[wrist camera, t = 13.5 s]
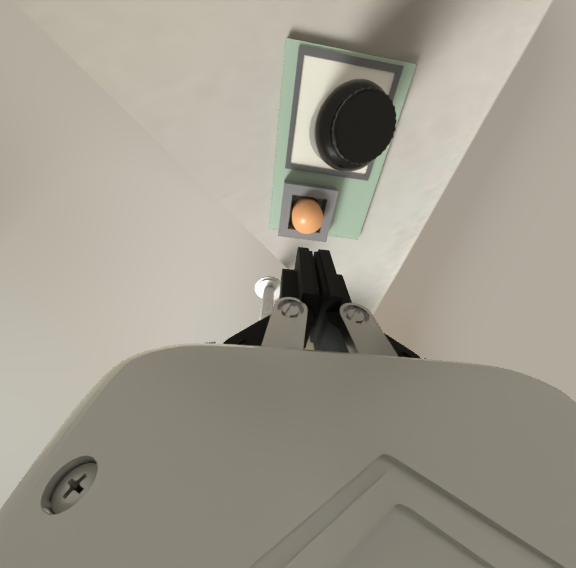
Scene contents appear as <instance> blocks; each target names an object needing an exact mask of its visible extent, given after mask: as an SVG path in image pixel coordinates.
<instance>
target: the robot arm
mask: <svg viewBox="0 0 576 568" xmlns="http://www.w3.org/2000/svg"><path fill="white" fill-rule="evenodd" d="M309 336H310V342H311V343H314V350H306V349H305V348H306V345H307V342H308V339H309ZM319 350H322V351H319ZM86 475H87V476H86ZM0 568H576V402H575V401H573V400H572V399H571V398H570V397H569V396H567V395H566V394H565V393H563V392H562V391H560V390H559V389H557V388H555V387H553V386H551V385H549V384H547V383H545V382H543V381H541V380H538V379H536V378H533V377H531V376H528V375H525V374H522V373H519V372H515V371H512V370H508V369H504V368H499V367H494V366H488V365H480V364H472V363H463V362H453V361H442V360H431V359H426V358H424V359H421V358H420V357H419V356H418V355H417V354H415V353H414V352H412V351H411V350H409V349H408V348H406V347H405V346H403V345H402V344H400V343H399V342H397V341H395V340H394V339H392V338H391V337H389V336H388V335H386V334H385V333H383V331H382V330H381V328H380V326H379V325H378V323H377V322H376V320H375V318H374V317H373V315H372V314H371V312H370V311H369V310H368V309H366V308H365V307H363V306H362V305H359V304H356V303H352V302H351V299H350V296H349V293H348V290H347V288H346V285H345V282H344V279H343V276H342V275H338V274H336V270H335V267H334V264H333V261H332V258H331V255H330V251H329V250H320V249H319V250H318V252H314V256H313V254H312V251H309V249H308V248H302V247H298V250H297V257H296V263H295V269H294V270H289V269H282V277H281V285H280V297H279V300H277V301H276V302H275V304H274V307H273V310H272V313H271V314H270V315H268V316H267V317H265V318H263V319H261V320H260V321H258V322H256V323H255V324H253V325H251V326H249V327H248V328H246V329H244V330H243V331H241V332H239V333H237V334H235V335H234V336H232V337H231V338H229V339H228V340H226V341H225V342H224V343H223V344H216V343H215V342H209V343H196V344H195V343H193V344H179V345H171V346H166V347H161V348H157V349H152V350H148V351H145V352H142V353H139V354H137V355H134V356H131V357H129V358H128V359H126V360H124V361H122V362H120V363H119V364H118V365H116V366H115V367H113V368H112V369H111V370H110V371H109V372H108V373H107V374H106V375H104V376H103V377H102V379H101V380H99V382H98V383H97V384H96V385H95V386H94V387H93V388H92V389H91V390H90V391H89V393H88V394H87V395H86V396H85V397H84V399H83V400H82V401H81V402H80V403H79V405H78V406H77V407H76V408H75V410H74V411H73V412H72V413H71V414H70V416H69V417H68V418H67V420H66V421H65V422H64V424H63V425H62V426H61V428H60V429H59V430H58V432H57V433H56V434H55V435H54V437H53V438H52V440H51V441H50V442H49V443H48V445H47V446H46V447H45V448H44V450H43V451H42V453H41V454H40V455H39V456H38V458H37V459H36V460H35V462H34V464H33V465H32V466H31V467H30V469H29V470H28V472H27V473H26V474H25V476H24V477H23V479H22V480H21V482H20V483H19V485H18V486H17V487H16V488H15V490H14V491H13V493H12V494H11V495H10V497H9V498H8V500H7V501H6V502H5V504H4V505H3V507H2V508H1V509H0Z"/></svg>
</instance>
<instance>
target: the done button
mask: <svg viewBox="0 0 576 568" xmlns="http://www.w3.org/2000/svg"><path fill="white" fill-rule="evenodd" d="M292 222H293V225H294V227H295V229H296V230H297V231H299V232H300V233H303V234H311V233H314V232H316V231H317V230H318V229H319V228H320V227H321V225H322V223H323V212H322V210H321V208H320V206H319V204H318V202H317V200H316V199H315V198H313V197H306V196H301V197H299V198H298V199H296V200H295V202H294V203H293V205H292Z"/></svg>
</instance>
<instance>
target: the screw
mask: <svg viewBox="0 0 576 568" xmlns="http://www.w3.org/2000/svg"><path fill="white" fill-rule="evenodd" d="M280 285H281V282H280V281H279V280H278V279H276V278H274V277H263V278H261V279H259V280H258V281H257V283H256V285H255V291H256V293H257V295H258V296H259V297H261V298H262V304H261V311H260V317H259V319H260V320H261V319H263V318H265V317H267V316H268V315H270V314H271V313H272V310H273V300H274V299H277V298H278V297H280ZM260 320H259V321H260Z"/></svg>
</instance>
